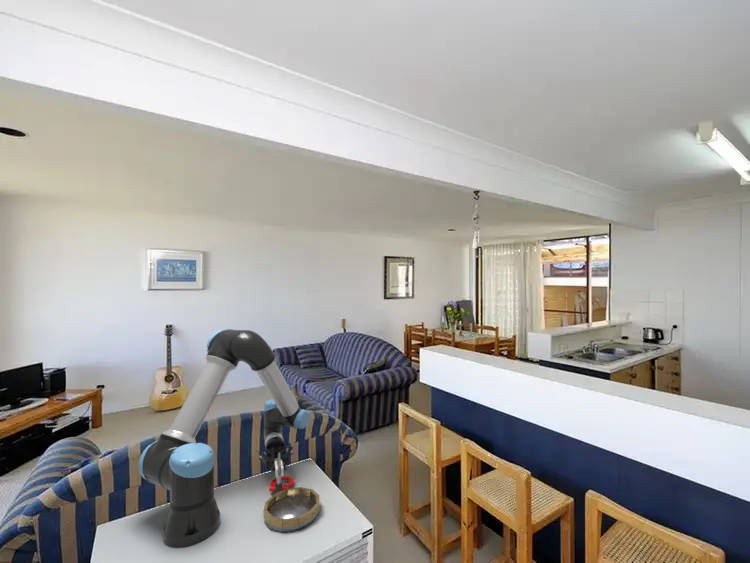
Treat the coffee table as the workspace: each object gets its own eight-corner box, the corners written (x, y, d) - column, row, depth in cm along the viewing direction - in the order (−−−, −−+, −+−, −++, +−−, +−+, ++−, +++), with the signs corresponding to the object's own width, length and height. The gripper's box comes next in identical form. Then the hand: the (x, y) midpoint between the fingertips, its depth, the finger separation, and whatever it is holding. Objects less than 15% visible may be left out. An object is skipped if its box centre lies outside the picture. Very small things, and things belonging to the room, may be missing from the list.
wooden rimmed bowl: (252, 526, 102) (252, 514, 102) (285, 494, 118) (285, 484, 118) (301, 537, 97) (301, 525, 97) (328, 503, 113) (328, 492, 113)
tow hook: (274, 479, 127) (266, 492, 118) (274, 443, 128) (266, 453, 119) (296, 479, 127) (290, 492, 118) (296, 443, 128) (290, 453, 119)
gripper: (292, 451, 142) (300, 479, 120) (256, 458, 137) (258, 488, 115) (292, 433, 142) (300, 457, 120) (256, 439, 137) (258, 465, 115)
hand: (279, 472), depth 117 cm, fingers closed on tow hook
